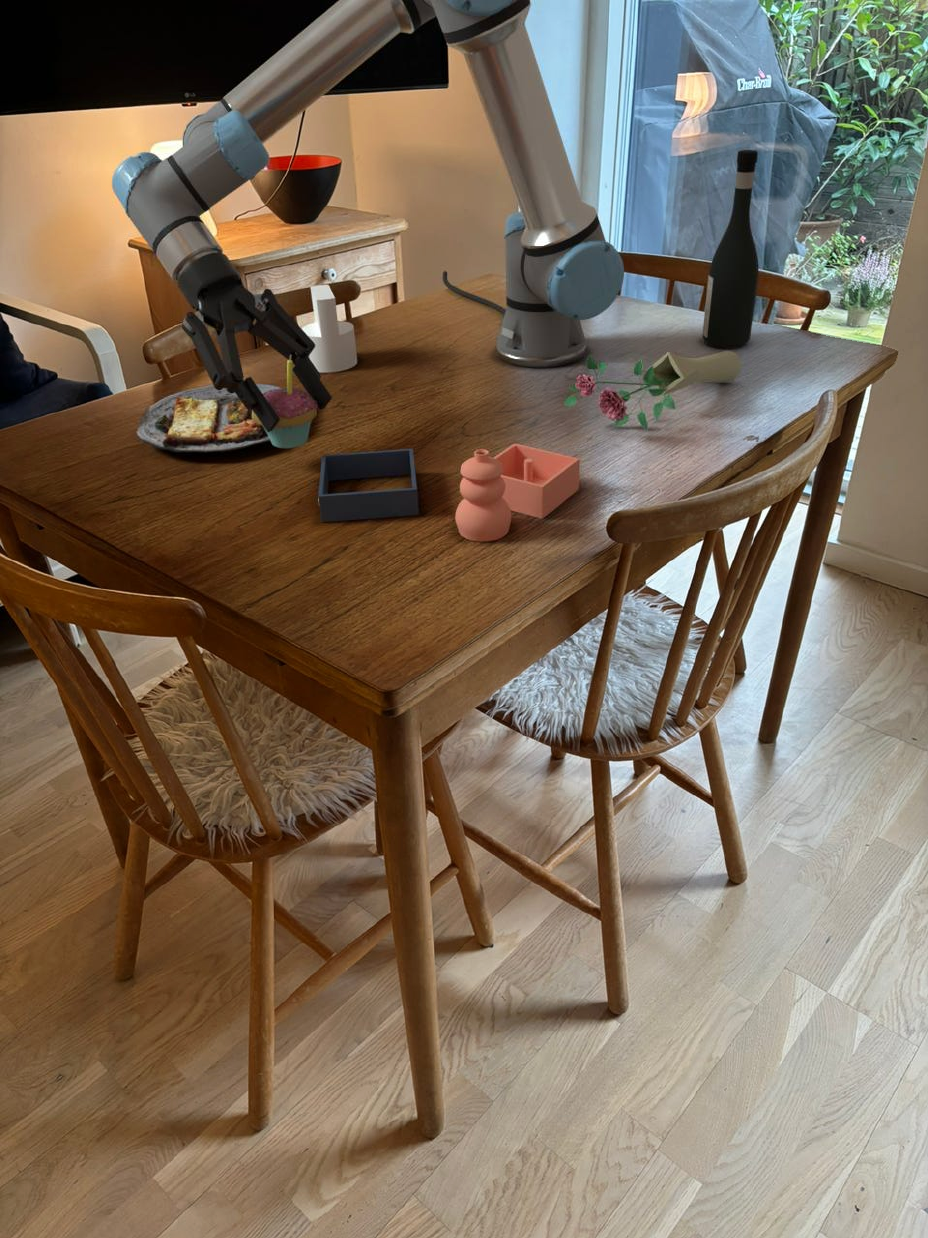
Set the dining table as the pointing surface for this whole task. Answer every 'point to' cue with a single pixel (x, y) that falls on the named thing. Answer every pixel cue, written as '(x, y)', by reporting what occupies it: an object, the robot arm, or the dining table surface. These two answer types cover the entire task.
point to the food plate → (202, 422)
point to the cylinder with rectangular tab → (330, 334)
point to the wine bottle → (734, 269)
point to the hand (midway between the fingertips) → (300, 414)
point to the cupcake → (290, 414)
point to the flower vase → (657, 382)
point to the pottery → (512, 488)
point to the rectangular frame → (367, 501)
